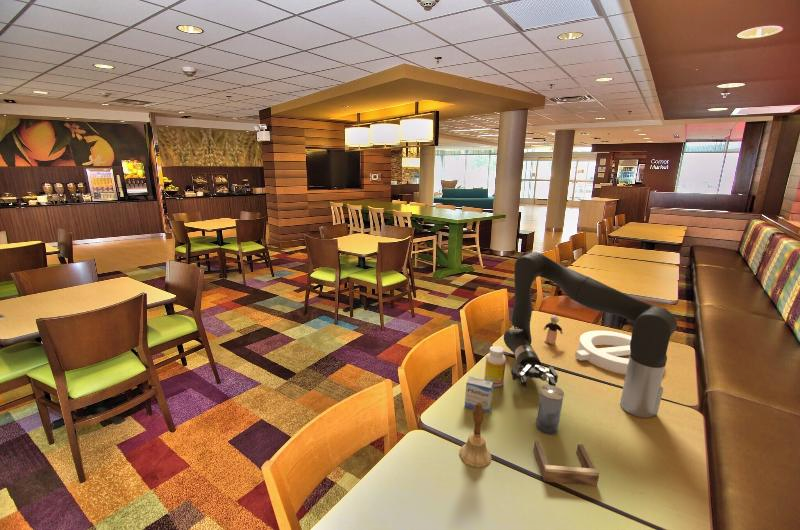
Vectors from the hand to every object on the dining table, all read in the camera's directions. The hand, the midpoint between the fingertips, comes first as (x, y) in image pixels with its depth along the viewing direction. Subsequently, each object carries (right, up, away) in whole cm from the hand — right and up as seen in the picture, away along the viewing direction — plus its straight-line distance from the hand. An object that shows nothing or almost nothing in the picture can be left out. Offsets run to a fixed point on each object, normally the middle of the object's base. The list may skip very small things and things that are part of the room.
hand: (539, 386), depth 118 cm
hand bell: (-24, -12, -19) cm, 33 cm away
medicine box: (-19, -7, +1) cm, 20 cm away
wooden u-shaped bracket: (-2, -13, -22) cm, 26 cm away
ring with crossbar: (+43, +1, +32) cm, 54 cm away
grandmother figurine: (+21, +5, +42) cm, 47 cm away
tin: (-1, -9, -9) cm, 13 cm away
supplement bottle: (-11, -3, +13) cm, 18 cm away
